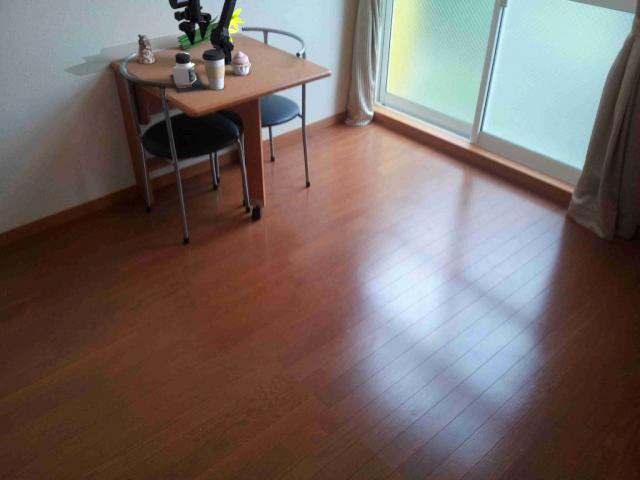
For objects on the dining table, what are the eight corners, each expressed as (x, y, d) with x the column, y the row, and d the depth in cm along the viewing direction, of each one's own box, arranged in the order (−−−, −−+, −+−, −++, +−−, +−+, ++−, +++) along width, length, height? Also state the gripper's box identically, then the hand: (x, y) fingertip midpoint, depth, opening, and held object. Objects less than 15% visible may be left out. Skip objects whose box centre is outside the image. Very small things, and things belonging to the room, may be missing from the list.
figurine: (146, 64, 262) (142, 38, 255) (135, 61, 265) (131, 35, 258) (158, 60, 267) (154, 34, 260) (147, 57, 270) (143, 31, 263)
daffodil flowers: (175, 44, 289) (236, 17, 297) (189, 66, 286) (250, 38, 294) (170, 22, 273) (234, -6, 281) (184, 45, 270) (249, 16, 278)
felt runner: (196, 73, 255) (196, 72, 255) (204, 89, 240) (204, 88, 240) (171, 75, 252) (171, 74, 252) (178, 92, 237) (178, 91, 237)
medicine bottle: (190, 85, 242) (187, 57, 235) (174, 83, 243) (170, 55, 236) (196, 79, 248) (193, 51, 241) (180, 78, 249) (177, 50, 242)
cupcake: (248, 68, 261) (247, 46, 255) (253, 76, 254) (252, 53, 248) (228, 71, 258) (226, 48, 252) (233, 78, 251) (231, 55, 245)
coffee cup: (228, 83, 246) (226, 48, 237) (226, 91, 239) (223, 56, 230) (206, 83, 246) (203, 48, 237) (203, 91, 238) (200, 55, 229)
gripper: (187, -3, 250) (191, 33, 260) (164, 8, 236) (170, 46, 245) (210, -1, 247) (213, 36, 257) (188, 11, 233) (193, 49, 243)
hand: (197, 41), depth 250 cm, fingers open, 9 cm apart
